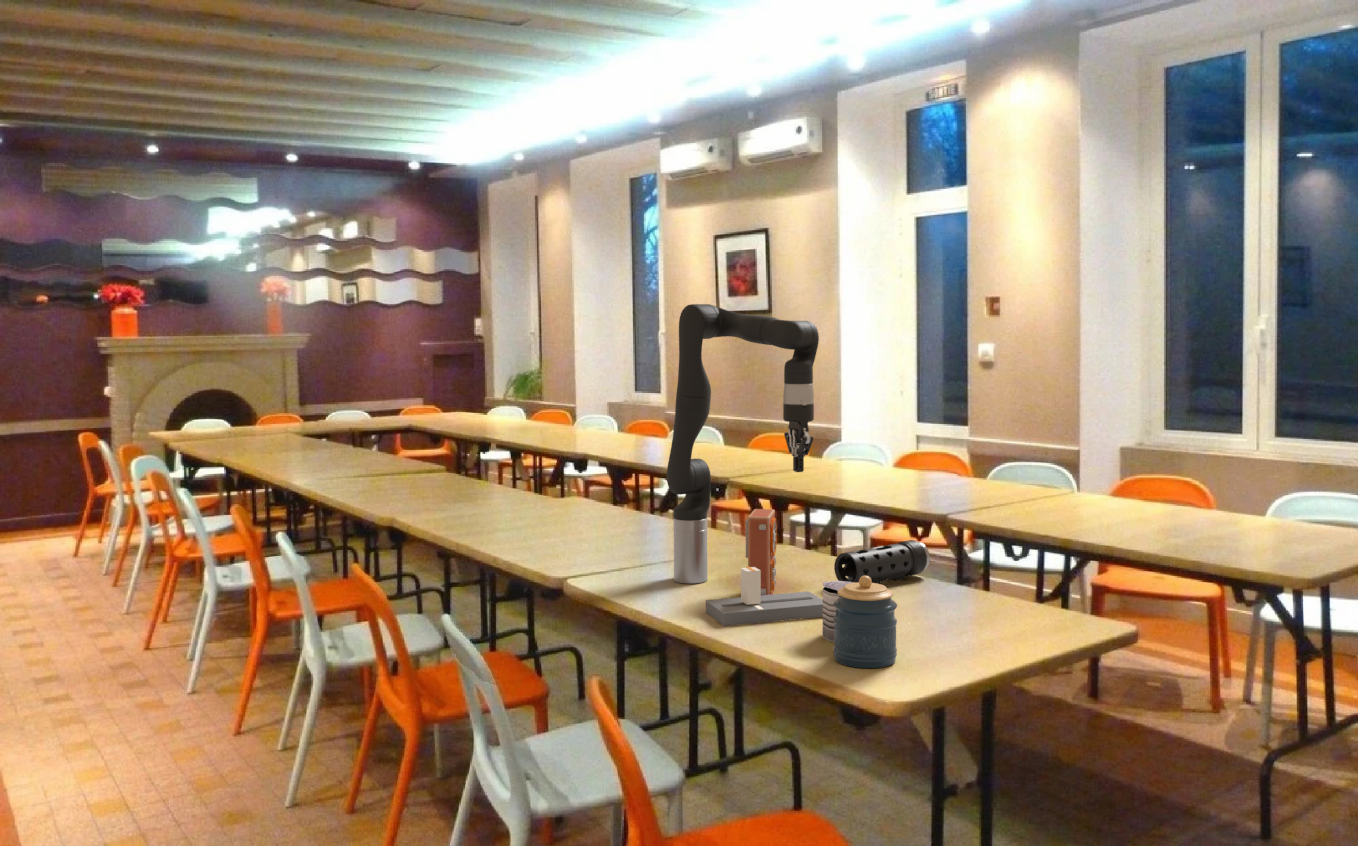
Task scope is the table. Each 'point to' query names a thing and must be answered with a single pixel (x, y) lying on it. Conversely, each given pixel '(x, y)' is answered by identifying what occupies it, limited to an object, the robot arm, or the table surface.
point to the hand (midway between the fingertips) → (798, 471)
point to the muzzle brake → (883, 562)
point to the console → (765, 608)
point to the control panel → (762, 546)
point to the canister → (865, 625)
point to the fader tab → (750, 585)
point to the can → (830, 606)
